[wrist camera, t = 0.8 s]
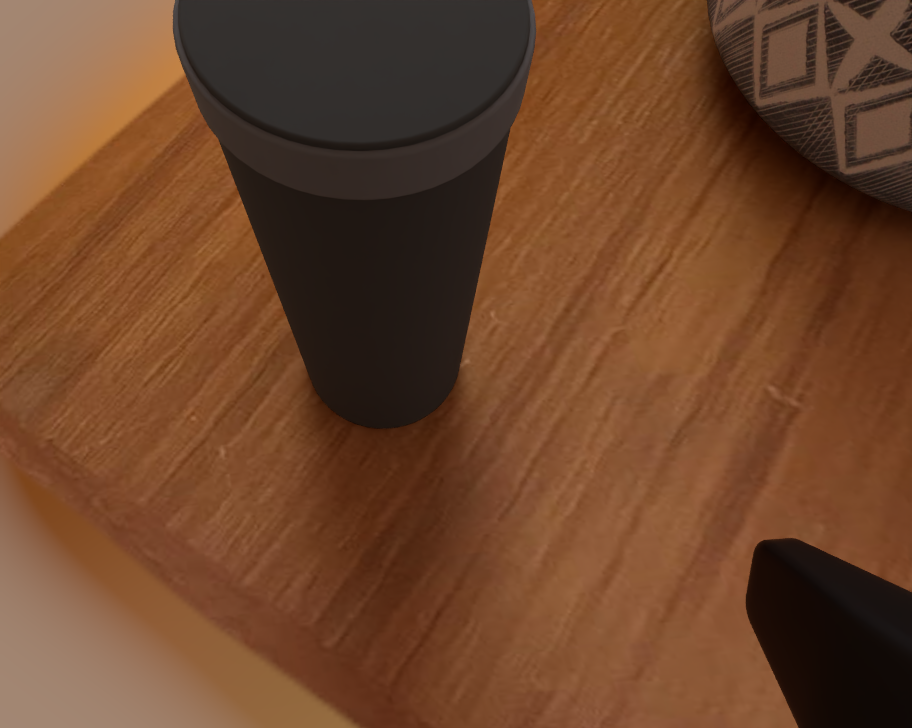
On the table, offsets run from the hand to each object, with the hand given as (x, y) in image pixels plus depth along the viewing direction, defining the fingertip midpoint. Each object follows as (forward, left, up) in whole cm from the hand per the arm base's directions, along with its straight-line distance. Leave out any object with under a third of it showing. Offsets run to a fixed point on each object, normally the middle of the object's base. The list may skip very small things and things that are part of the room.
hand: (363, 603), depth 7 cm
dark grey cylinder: (+8, -1, -13) cm, 15 cm away
